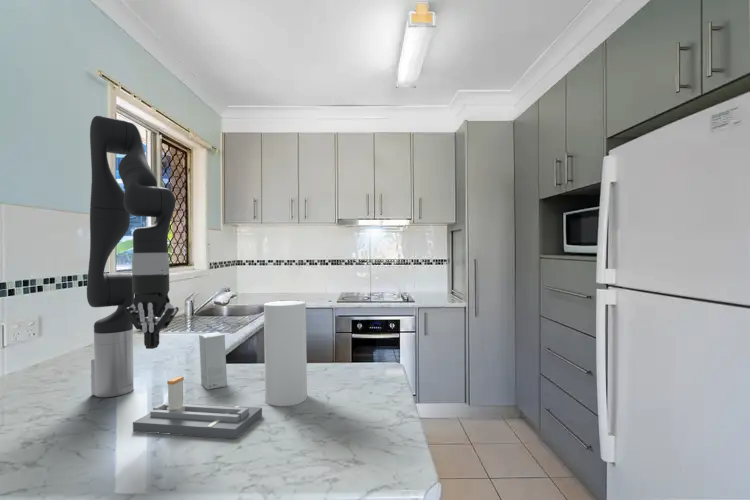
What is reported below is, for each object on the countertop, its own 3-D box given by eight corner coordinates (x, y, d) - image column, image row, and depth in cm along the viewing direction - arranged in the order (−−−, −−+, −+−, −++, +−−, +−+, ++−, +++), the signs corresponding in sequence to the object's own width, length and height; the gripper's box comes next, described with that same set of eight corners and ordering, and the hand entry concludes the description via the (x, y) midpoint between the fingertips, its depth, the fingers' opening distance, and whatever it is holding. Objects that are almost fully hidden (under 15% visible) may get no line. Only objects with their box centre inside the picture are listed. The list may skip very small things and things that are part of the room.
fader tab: (165, 415, 93) (164, 380, 93) (175, 409, 96) (174, 376, 96) (177, 415, 92) (176, 381, 92) (186, 410, 96) (186, 377, 96)
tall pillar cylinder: (256, 403, 105) (255, 304, 106) (280, 390, 115) (279, 300, 115) (292, 408, 101) (291, 306, 102) (314, 394, 111) (313, 301, 112)
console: (132, 431, 89) (132, 415, 89) (170, 410, 101) (170, 396, 101) (235, 438, 85) (235, 422, 85) (262, 416, 97) (261, 401, 97)
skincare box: (227, 386, 119) (226, 334, 119) (205, 390, 116) (204, 337, 116) (220, 379, 126) (219, 330, 126) (199, 383, 123) (198, 333, 123)
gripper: (113, 273, 93) (113, 351, 93) (165, 273, 91) (166, 352, 90) (138, 272, 101) (138, 344, 100) (187, 271, 98) (188, 345, 98)
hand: (152, 348), depth 95 cm, fingers closed
